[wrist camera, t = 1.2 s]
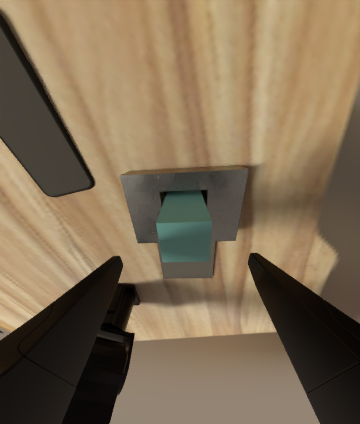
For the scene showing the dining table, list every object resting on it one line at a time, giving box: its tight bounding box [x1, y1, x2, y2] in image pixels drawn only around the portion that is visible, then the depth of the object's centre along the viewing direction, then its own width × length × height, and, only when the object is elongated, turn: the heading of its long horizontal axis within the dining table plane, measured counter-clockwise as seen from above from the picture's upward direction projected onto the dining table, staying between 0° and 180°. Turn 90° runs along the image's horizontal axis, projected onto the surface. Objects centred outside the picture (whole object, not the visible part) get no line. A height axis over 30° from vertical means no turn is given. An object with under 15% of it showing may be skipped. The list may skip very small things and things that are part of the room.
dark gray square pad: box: [157, 241, 216, 279], centre depth 22 cm, size 9×9×1 cm
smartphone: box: [0, 14, 94, 197], centre depth 13 cm, size 7×1×15 cm
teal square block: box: [156, 190, 212, 262], centre depth 14 cm, size 4×4×8 cm
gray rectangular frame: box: [120, 165, 249, 243], centre depth 16 cm, size 9×13×2 cm
